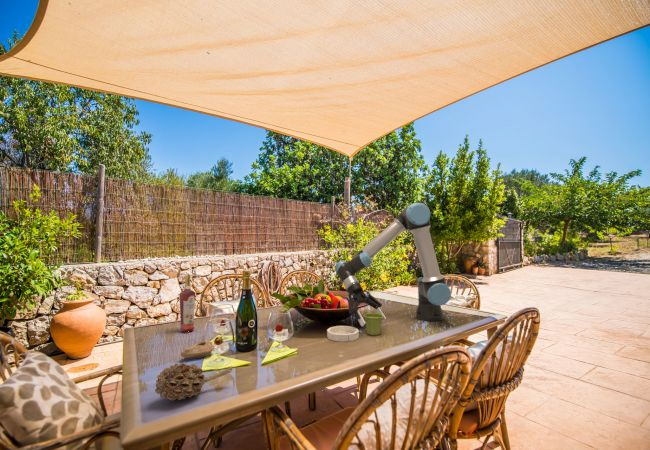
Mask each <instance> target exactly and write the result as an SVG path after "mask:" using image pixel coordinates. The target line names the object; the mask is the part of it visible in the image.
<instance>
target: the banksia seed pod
mask: <svg viewBox="0 0 650 450" xmlns="http://www.w3.org/2000/svg"><path fill="white" fill-rule="evenodd" d="M233 368H234V369H235V367H233V366H232V365H231V366H228V367H227V368H226V369H223V370H222V371H220V372H217V373H215V374H213V375H209V376H205V374H203V369H202V367H200V366H198V365H197V364H196V363H191V364H188V363H185V362H180V363H179V364H178V363H175V364H174V365H170V366H169V367H165V368H163V369H162V370H161V371H160V372H159V374H157V376H156V378H157V379H156V380H155V387H156V388H155V389H154V391H155V393H156V394H157V395H159V397H160V398H164V399H168V400H170V401H172V402H173V401H176V400H178V401H180V400H185V399H186V398H187V397H188V398H190V399H191V398H192V397H193V396H198V394H199V393H201V391H202V389H203V385H205V383H208V382H211V381H214V380H216V379H218V378H221V377H223V376H225V375H227V374H230V373H233V371H232V370H233Z"/></svg>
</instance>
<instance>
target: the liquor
mask: <svg viewBox="0 0 650 450" xmlns="http://www.w3.org/2000/svg"><path fill="white" fill-rule="evenodd" d="M195 304H196V292H195V291H194V290H192V289H191V274H184V290H182V291H181V292H180V293H179V313H180V314H179V317H180V327H179V330H180V331H181V333H183V332H188V331H191V332H193V331H194V329H195V309H196V308H195ZM188 333H189V332H188Z"/></svg>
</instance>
